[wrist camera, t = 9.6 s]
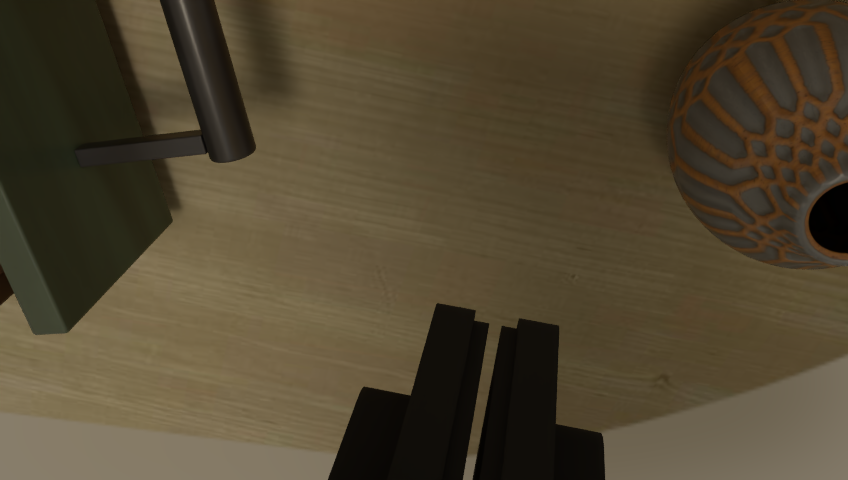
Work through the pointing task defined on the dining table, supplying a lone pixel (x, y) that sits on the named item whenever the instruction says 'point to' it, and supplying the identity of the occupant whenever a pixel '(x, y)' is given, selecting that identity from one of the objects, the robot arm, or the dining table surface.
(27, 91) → the drawer
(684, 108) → the vase
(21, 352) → the dining table surface
